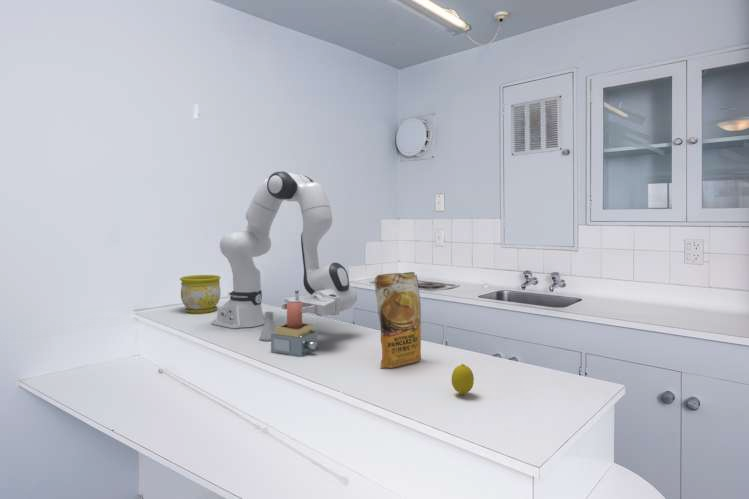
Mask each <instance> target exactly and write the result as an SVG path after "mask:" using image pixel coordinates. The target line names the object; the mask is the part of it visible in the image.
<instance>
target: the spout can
mask: <svg viewBox="0 0 749 499" xmlns="http://www.w3.org/2000/svg"><path fill="white" fill-rule="evenodd" d="M294 293H295V296H294V297H295V299H289V300H288V302H287V309H286V323H287V328H294V329H299V328H301V327H302V323H303V313H302V312H301V307H302V302H301V301H300V299H298V296H299V293H300V290H299V289H298V290H294Z"/></svg>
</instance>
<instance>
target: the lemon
mask: <svg viewBox="0 0 749 499" xmlns="http://www.w3.org/2000/svg"><path fill="white" fill-rule="evenodd" d="M451 374H452V375H451V385H452V387H453V389H454V390H455V391H456V392H458V393H459V395H461V396H464V395H465V394H467V393H469V392H470V391H471V390H472V388H473V386H474V380H475V378H474V377H475V376H474V373H473V371H472V369H471V368H470V367H469V366H467V365H465V364H464V363H461V364H459V365H457V366H455V368H454V369H453V370H452V373H451Z"/></svg>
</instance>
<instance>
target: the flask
mask: <svg viewBox="0 0 749 499" xmlns="http://www.w3.org/2000/svg"><path fill="white" fill-rule="evenodd" d="M264 315H265V318H264V321H265V323H264V324H263V328H262V330H261V334H260V336H259V339H258V340H259V341H264V342H266V341H267V342H268V341H269V342H271V334H273V332H276V330H275V327H276V325H275V322H274V321H275V320H274V316H273V315H274V311H265V312H264Z"/></svg>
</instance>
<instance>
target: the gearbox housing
mask: <svg viewBox="0 0 749 499" xmlns="http://www.w3.org/2000/svg"><path fill="white" fill-rule="evenodd" d="M275 330H276V332H273V334H271V341H270V353H274V354H281V355H282V354H283V355H288V356H295V357H296V356H297V357H304V356H307V355H308V354H310V353H312V352H314V351H316V350H318V347H319V346H318V345H319V344H318V338H319V337H318V331H316V329H314V324H313V323H305V322H302V327H301V328H299V329H294V328H287V322H286V323H284V324H281V325H277V326H275Z"/></svg>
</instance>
